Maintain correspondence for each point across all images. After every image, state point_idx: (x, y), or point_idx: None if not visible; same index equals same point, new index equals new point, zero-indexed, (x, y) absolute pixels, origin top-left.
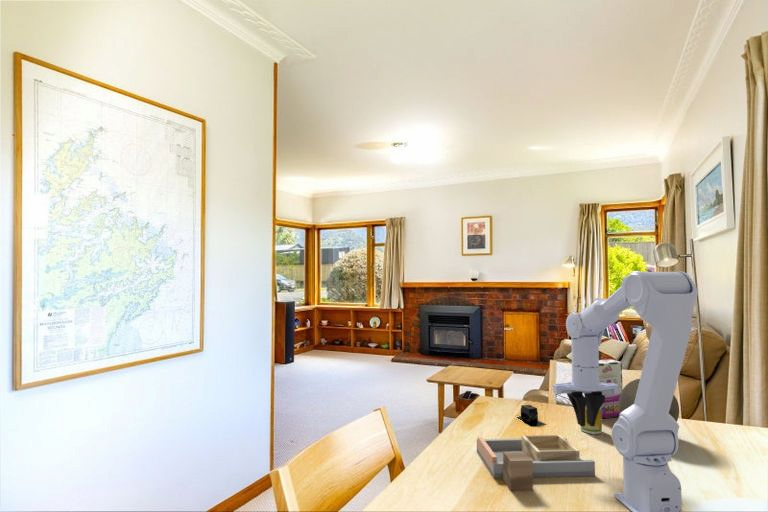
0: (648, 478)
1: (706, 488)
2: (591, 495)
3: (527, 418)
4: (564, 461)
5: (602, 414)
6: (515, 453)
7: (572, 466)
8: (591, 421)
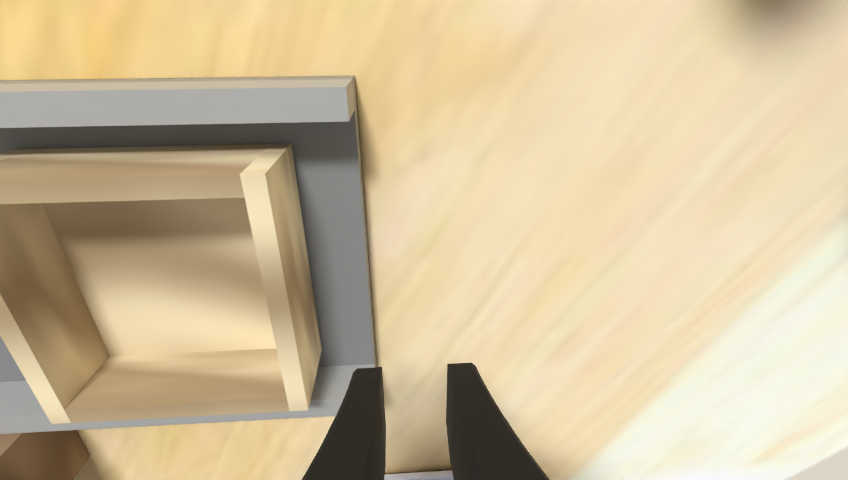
0: None
1: (715, 429)
2: (297, 470)
3: None
4: (220, 415)
5: None
6: None
7: None
8: (450, 457)
